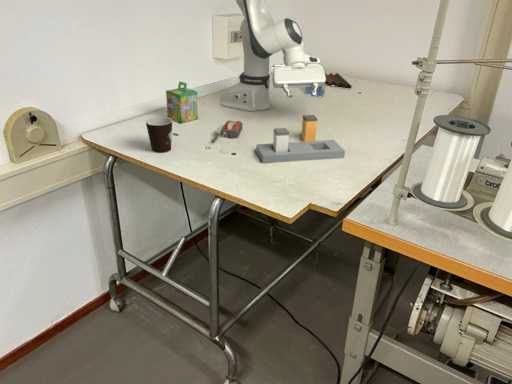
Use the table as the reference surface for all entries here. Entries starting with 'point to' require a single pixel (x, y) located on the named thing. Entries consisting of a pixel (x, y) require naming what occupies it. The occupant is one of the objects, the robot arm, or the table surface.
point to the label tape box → (319, 90)
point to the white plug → (280, 140)
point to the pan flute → (336, 80)
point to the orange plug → (309, 128)
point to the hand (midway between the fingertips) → (302, 96)
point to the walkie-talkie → (229, 130)
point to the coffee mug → (160, 133)
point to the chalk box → (182, 104)
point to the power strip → (301, 151)
